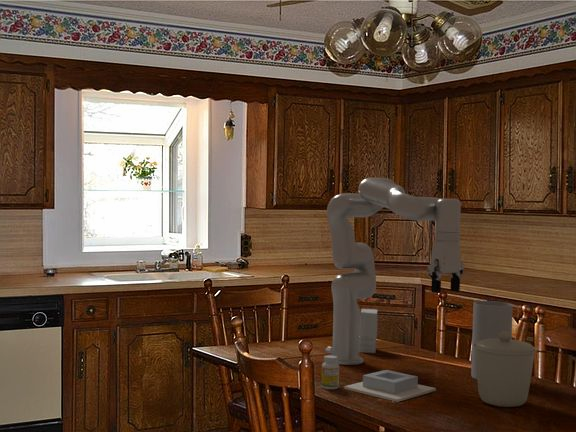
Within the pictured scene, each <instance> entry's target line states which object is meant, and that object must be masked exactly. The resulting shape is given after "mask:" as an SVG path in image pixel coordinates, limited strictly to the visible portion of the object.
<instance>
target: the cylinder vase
mask: <svg viewBox="0 0 576 432" xmlns="http://www.w3.org/2000/svg"><path fill="white" fill-rule="evenodd" d="M472 306H473V312H472V335H471V336H472V340H471V363H470V364H471V367H470V370H471V371H470V373H471V375H470V376H471V378H472V379H474V380H476V381H477V370H476V357H475V348H474V347H473V344H474V343H477V342H478V341H480V340H483V339H490V338H499V333H500V332H502V331H508V332H509V333H510V334H511V339H513V338H512V333H513V309H514V307H513V303H510V302H504V301H495V300H477V301H474V302H473V305H472Z"/></svg>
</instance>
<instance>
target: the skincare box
mask: <svg viewBox="0 0 576 432" xmlns="http://www.w3.org/2000/svg"><path fill="white" fill-rule="evenodd" d="M378 312H379V311H378V309H374V308H373V309H372V308H361V310H360V340H359V353H365V354H366V353H367V354H376V352H377V351H376V350H377V336H378Z"/></svg>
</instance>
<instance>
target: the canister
mask: <svg viewBox="0 0 576 432" xmlns="http://www.w3.org/2000/svg"><path fill="white" fill-rule="evenodd" d="M473 347H474V348H475V357H476V370H477V380H476V381H477V389H478V390H477V391H478V395H479V398H480V399H481V400H482V402H483V403H486V404H488V405H491V406H496V407H500V408H516V407H520V406H522V405H524V404H525V403H526V401H527V399H528V396H529V392H530V388H531V387H530V386H531V381H532V373H533V367H534V359H535V354H536V353H537V352H538V349H537V348H536V347H534V346H533V345H532V344H531V343H529V342H526V341H523V340H518V339H513V338H512V339H511V334H510V333H509V332H508V331H502V332H500V333H499V338H490V339H483V340H480V341H478V342H477V343H474V344H473Z"/></svg>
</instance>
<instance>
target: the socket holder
mask: <svg viewBox="0 0 576 432" xmlns="http://www.w3.org/2000/svg"><path fill="white" fill-rule="evenodd" d="M418 380H419V377H418V376H417V375H413V374H408V373H405V372H404V373H403V372H398V371H394V370H389V369H385V370H384V369H383V370H380V371H376V372H372V373H367V374H363V375H362V381H361V382H356V383H352V384H348V385H344V386H343V389H344V390H347V391H351V392H356V393H360V394H364V395H367V396H372V397H374V398H375V397H376V398H380V399H385V400H388V401H391V400H392V402H395V401H396V403H399V402H401V401H406V400H409V399H413V398H416V397H419V396H422V395H426V394H430V393H433V392H436V391H437V389H436V387H433V386H428V385H423V384H419V383H418Z"/></svg>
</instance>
